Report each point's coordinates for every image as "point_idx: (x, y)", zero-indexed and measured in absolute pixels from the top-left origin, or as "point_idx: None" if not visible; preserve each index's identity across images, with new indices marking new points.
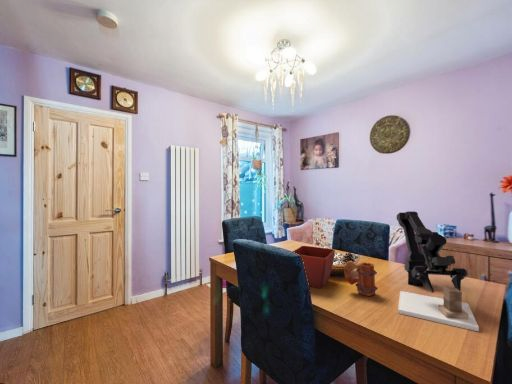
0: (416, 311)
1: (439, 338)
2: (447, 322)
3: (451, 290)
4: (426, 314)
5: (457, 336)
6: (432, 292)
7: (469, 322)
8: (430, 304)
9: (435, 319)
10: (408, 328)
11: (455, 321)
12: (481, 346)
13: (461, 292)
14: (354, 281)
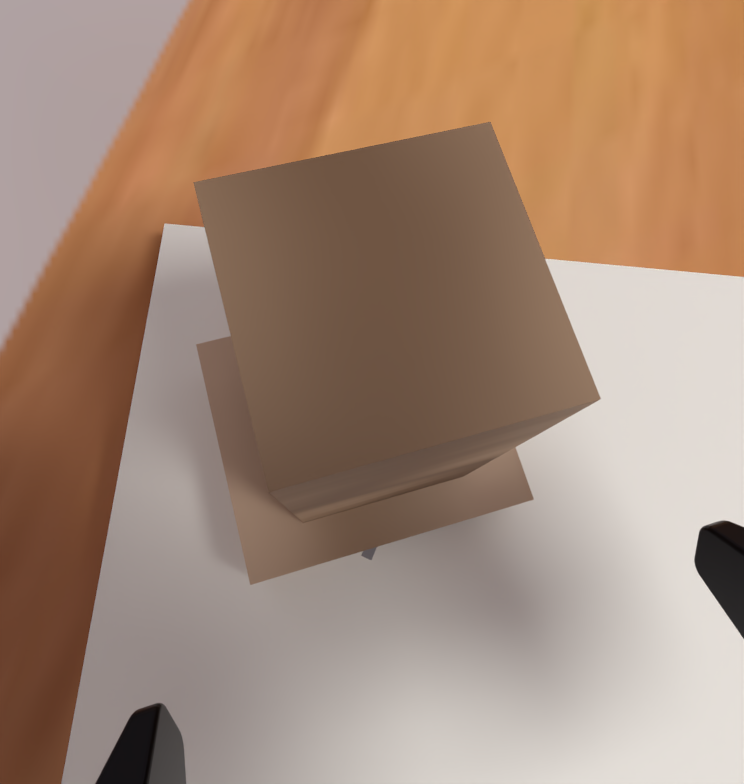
0: (737, 326)
1: (522, 16)
2: None
3: (426, 202)
4: (635, 298)
5: (386, 94)
6: (709, 549)
7: None
8: (594, 649)
9: None
10: (740, 69)
11: None
12: (245, 21)
13: (201, 184)
14: None
